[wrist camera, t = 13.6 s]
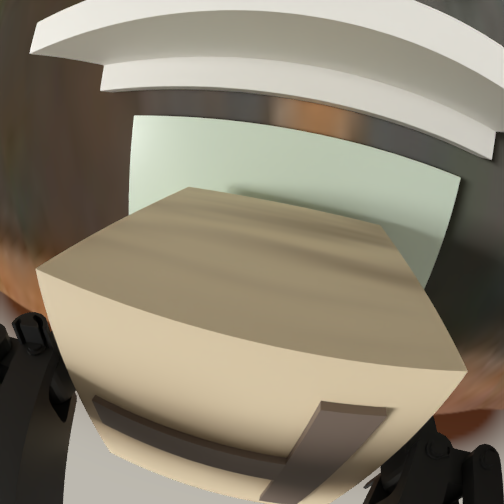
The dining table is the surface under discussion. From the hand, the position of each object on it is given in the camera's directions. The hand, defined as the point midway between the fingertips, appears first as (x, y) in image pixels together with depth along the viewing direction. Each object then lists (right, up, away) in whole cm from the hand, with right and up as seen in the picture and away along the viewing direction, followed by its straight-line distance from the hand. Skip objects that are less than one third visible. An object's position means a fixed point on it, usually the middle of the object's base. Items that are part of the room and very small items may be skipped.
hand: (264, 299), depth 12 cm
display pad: (+1, +1, +3) cm, 3 cm away
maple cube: (0, 0, +1) cm, 1 cm away
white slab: (+2, +11, -1) cm, 11 cm away
